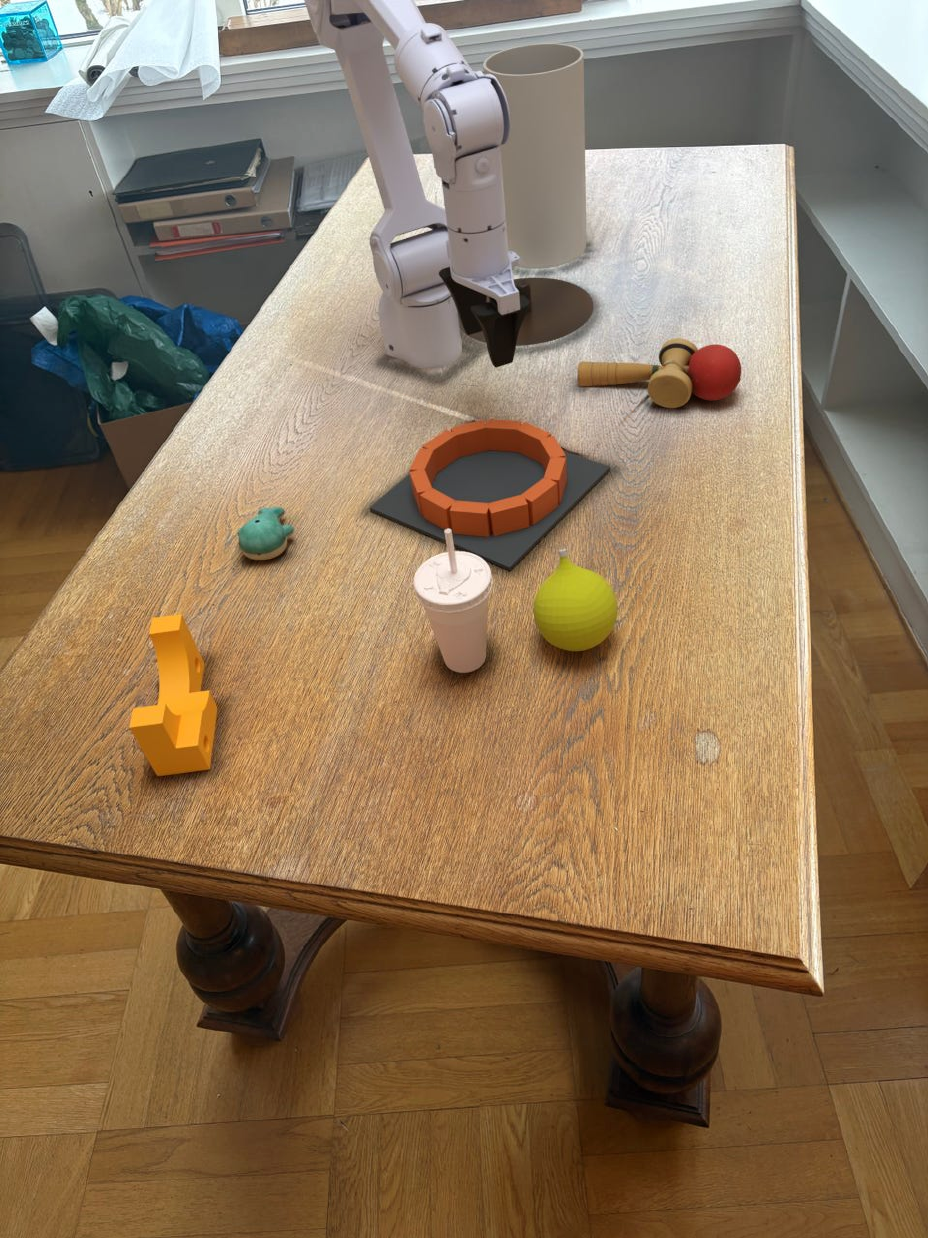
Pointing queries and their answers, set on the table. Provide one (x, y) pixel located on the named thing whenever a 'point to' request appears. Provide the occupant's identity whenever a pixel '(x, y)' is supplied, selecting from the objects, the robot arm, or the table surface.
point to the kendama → (673, 373)
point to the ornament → (574, 607)
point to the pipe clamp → (176, 704)
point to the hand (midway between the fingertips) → (488, 347)
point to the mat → (492, 499)
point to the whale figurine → (264, 535)
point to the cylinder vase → (543, 152)
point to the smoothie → (456, 604)
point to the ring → (499, 513)
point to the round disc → (548, 310)
